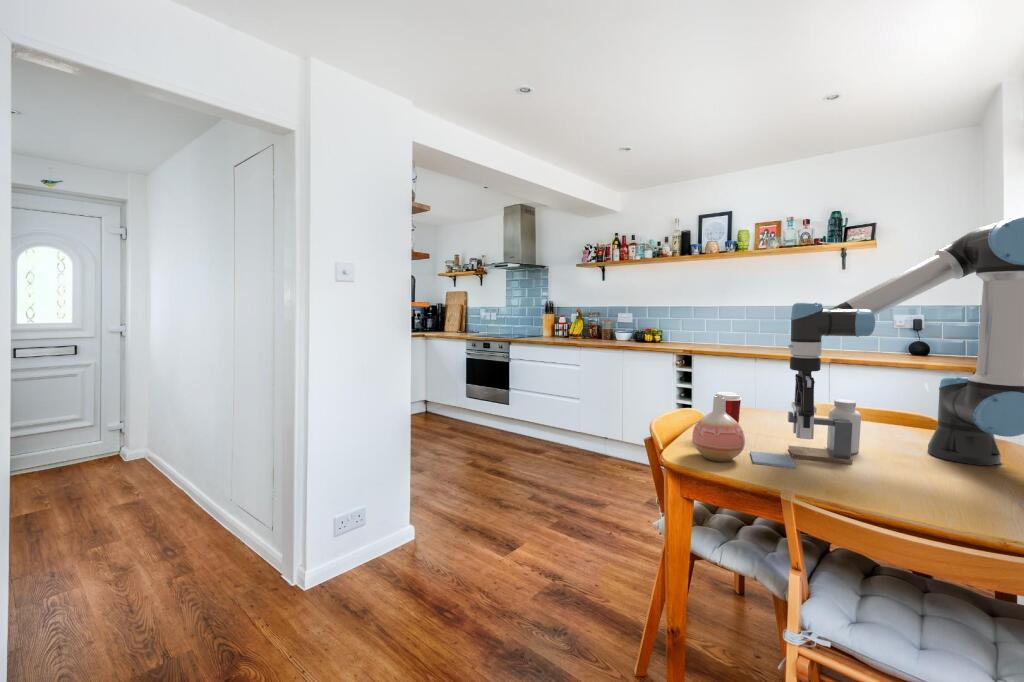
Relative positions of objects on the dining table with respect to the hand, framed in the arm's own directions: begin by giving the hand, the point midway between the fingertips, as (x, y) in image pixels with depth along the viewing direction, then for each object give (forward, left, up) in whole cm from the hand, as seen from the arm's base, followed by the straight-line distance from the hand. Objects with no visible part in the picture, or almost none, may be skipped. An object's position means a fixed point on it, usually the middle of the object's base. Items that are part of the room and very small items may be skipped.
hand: (802, 435), depth 138 cm
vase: (+23, +13, -6) cm, 27 cm away
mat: (+9, +9, -6) cm, 14 cm away
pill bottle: (-12, -10, -6) cm, 17 cm away
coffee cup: (+20, -9, -6) cm, 23 cm away
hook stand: (-4, 0, -6) cm, 7 cm away
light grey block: (0, 0, 0) cm, 0 cm away
